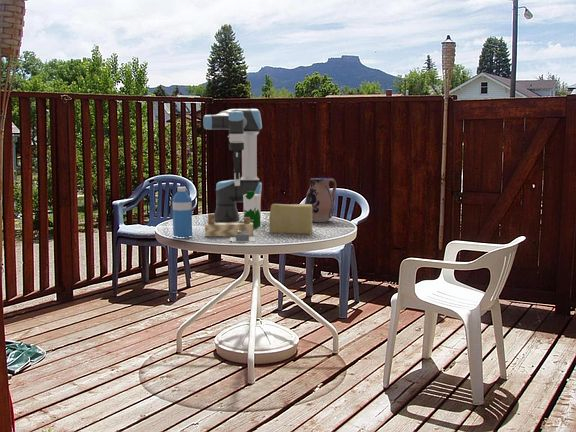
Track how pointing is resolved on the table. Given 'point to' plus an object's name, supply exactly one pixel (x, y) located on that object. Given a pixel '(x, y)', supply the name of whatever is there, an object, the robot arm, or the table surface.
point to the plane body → (227, 227)
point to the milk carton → (252, 208)
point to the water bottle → (182, 213)
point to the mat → (233, 239)
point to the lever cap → (242, 235)
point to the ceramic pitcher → (321, 199)
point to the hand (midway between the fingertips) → (237, 184)
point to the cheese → (291, 218)
